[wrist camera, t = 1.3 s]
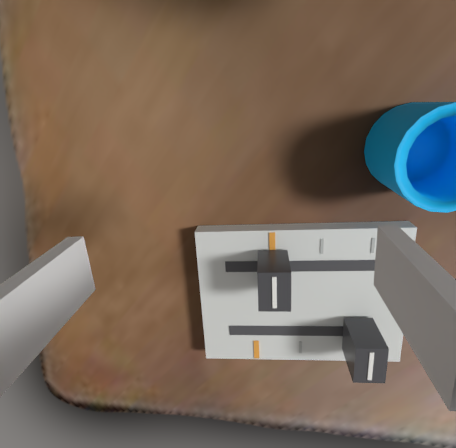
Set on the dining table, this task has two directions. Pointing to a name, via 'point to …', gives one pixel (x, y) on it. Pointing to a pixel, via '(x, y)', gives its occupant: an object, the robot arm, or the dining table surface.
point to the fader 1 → (274, 281)
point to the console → (300, 289)
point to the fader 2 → (364, 350)
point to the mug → (416, 153)
